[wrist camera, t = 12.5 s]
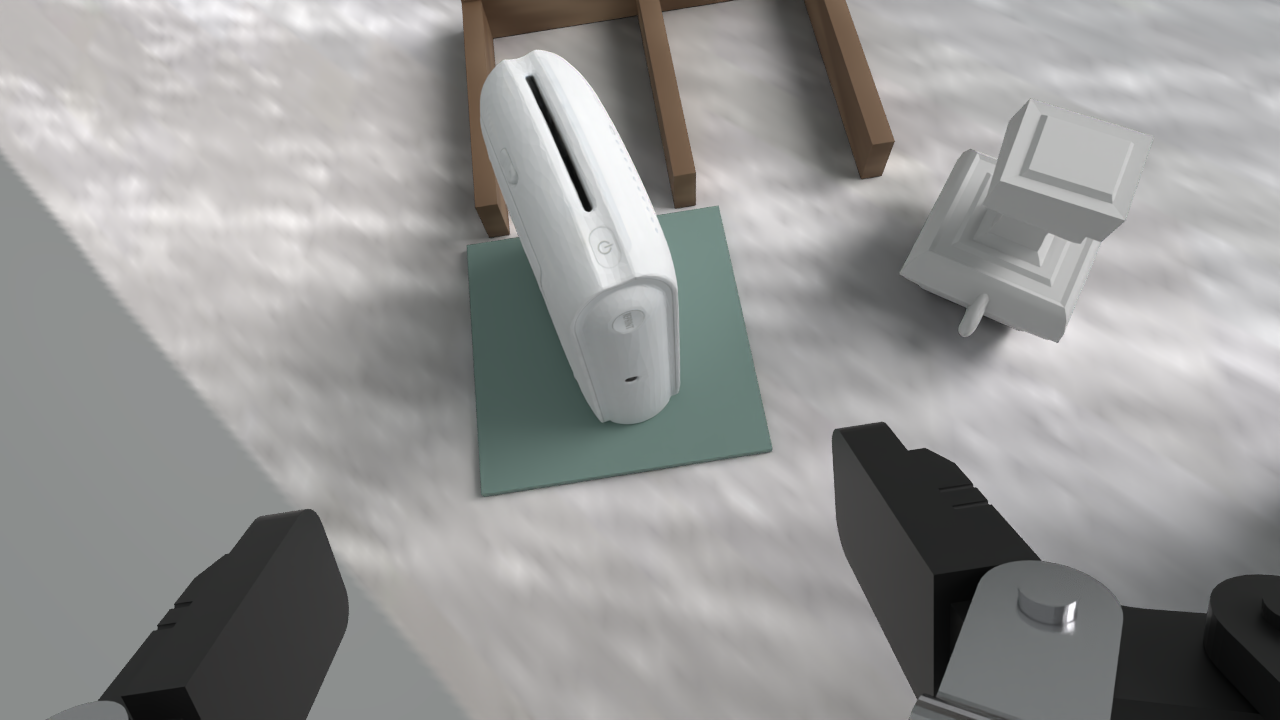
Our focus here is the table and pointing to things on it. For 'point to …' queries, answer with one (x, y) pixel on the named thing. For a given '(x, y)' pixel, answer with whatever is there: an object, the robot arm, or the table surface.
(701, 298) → the mat
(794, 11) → the table surface
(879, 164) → the lane rack
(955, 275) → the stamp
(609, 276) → the photo printer
